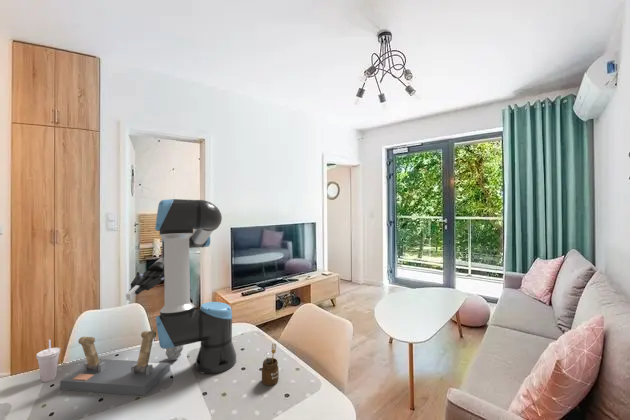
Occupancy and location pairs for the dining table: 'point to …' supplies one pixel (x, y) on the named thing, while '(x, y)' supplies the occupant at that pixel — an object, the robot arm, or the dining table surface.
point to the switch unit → (116, 377)
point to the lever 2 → (145, 351)
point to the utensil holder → (270, 369)
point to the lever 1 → (90, 352)
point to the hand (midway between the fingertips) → (128, 297)
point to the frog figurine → (174, 352)
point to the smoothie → (48, 363)
